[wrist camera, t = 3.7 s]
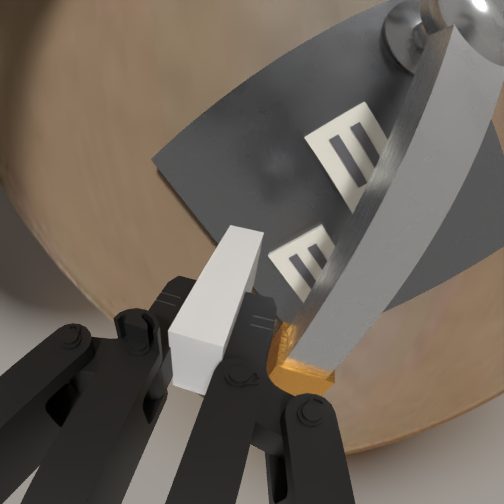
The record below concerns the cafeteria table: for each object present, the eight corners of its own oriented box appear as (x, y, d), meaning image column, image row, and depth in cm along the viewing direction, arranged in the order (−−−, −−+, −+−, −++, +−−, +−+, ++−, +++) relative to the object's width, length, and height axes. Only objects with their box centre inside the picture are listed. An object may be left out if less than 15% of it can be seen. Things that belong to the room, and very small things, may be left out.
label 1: (268, 253, 19) (267, 256, 19) (321, 224, 17) (321, 226, 17) (314, 314, 21) (314, 318, 21) (363, 292, 19) (363, 296, 19)
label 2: (304, 137, 15) (304, 137, 15) (363, 101, 13) (365, 101, 13) (357, 222, 17) (358, 224, 17) (412, 191, 15) (414, 193, 15)
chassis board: (159, 155, 18) (112, 178, 14) (416, -7, 10) (450, -36, 5) (302, 335, 24) (297, 387, 19) (517, 225, 15) (554, 261, 10)
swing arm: (426, -26, 6) (454, -51, 3) (497, 24, 6) (536, 15, 3) (264, 340, 17) (255, 383, 14) (324, 360, 17) (322, 402, 14)
